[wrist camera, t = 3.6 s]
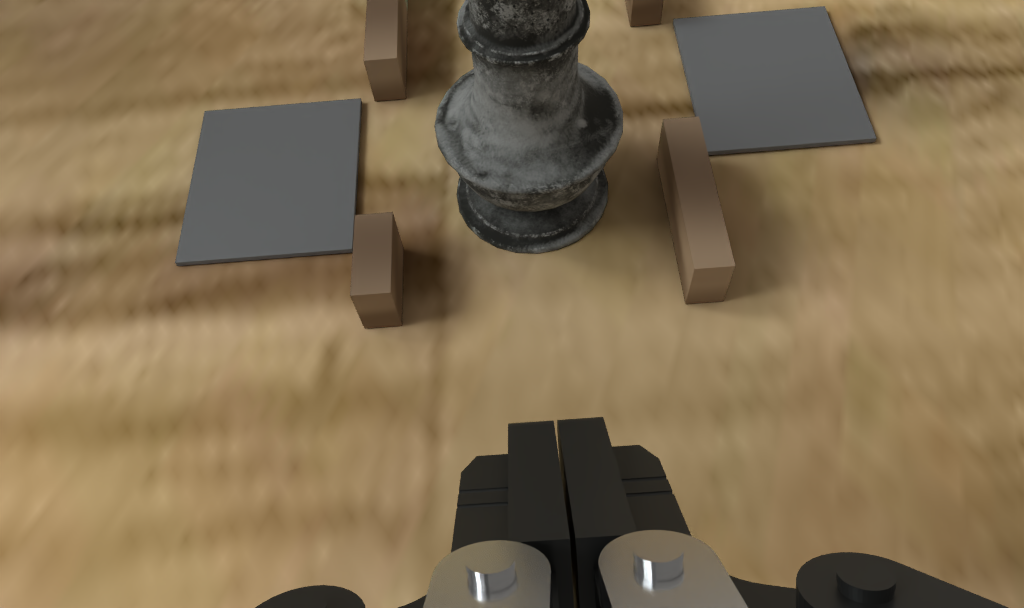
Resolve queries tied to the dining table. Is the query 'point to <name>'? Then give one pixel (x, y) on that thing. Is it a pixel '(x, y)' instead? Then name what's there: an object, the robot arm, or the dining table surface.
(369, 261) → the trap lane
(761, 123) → the pads
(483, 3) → the grey chess piece
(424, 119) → the dining table surface
